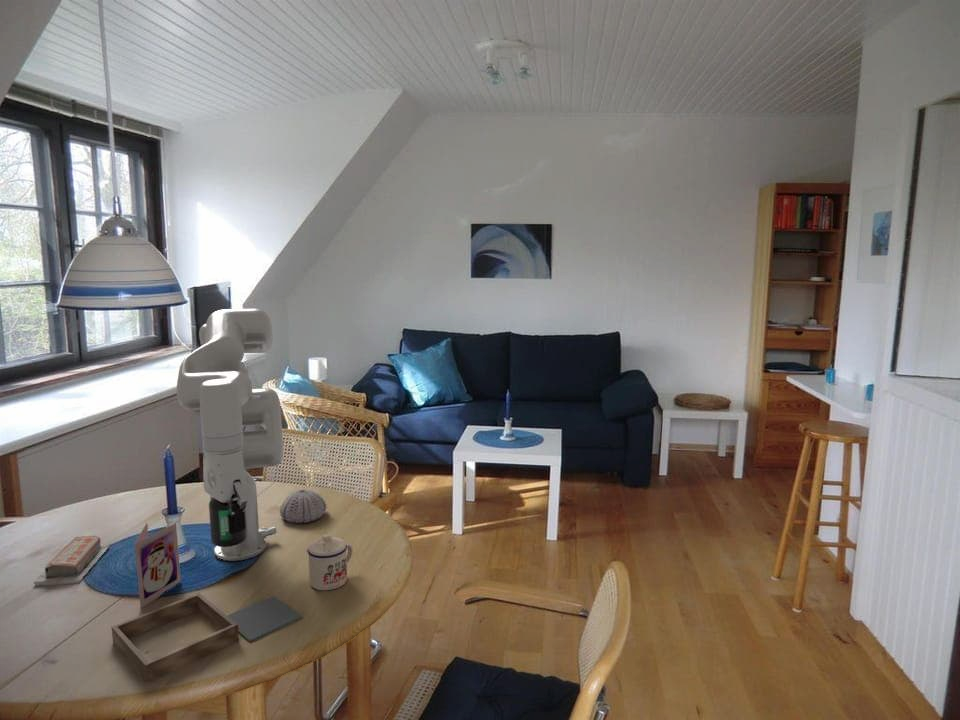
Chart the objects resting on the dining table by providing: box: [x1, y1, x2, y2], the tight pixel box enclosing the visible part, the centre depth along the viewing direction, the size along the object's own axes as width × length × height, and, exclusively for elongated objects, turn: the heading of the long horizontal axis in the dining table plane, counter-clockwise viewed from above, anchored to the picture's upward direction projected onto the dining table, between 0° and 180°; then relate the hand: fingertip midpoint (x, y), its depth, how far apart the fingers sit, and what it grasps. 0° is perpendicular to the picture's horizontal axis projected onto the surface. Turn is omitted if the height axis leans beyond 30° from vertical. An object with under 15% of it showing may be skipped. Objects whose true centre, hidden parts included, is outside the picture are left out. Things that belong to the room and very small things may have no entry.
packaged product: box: [33, 535, 110, 587], centre depth 160 cm, size 18×5×10 cm
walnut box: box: [111, 592, 240, 684], centre depth 130 cm, size 18×18×4 cm
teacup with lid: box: [306, 533, 354, 591], centre depth 154 cm, size 12×9×12 cm
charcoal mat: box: [226, 595, 304, 643], centre depth 138 cm, size 12×12×1 cm
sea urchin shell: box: [279, 488, 327, 524], centre depth 190 cm, size 13×14×8 cm
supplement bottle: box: [208, 495, 247, 547], centre depth 132 cm, size 7×7×12 cm
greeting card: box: [133, 522, 182, 608], centre depth 147 cm, size 11×7×15 cm, turn 160°
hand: (228, 524), depth 132 cm, fingers closed on supplement bottle, 6 cm apart
